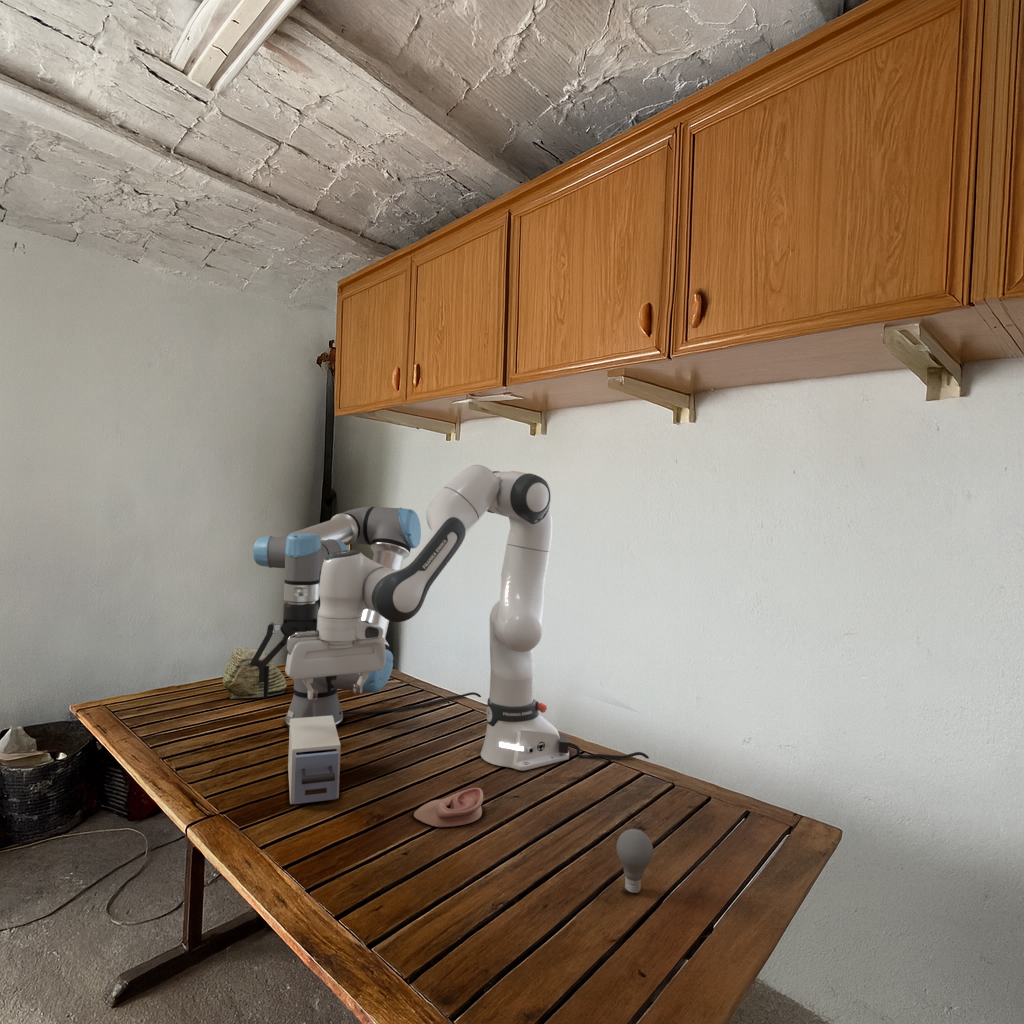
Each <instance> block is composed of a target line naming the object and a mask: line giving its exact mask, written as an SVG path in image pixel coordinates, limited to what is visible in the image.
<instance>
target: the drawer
mask: <svg viewBox="0 0 1024 1024" xmlns="http://www.w3.org/2000/svg"><path fill="white" fill-rule="evenodd" d="M337 779H338V751H334V749H330V750H319V751H309V752H298V753H296V755H295V780H294V804H293V805H299V804H307V803H316V802H323V801H332V800H337V799H338V798H337Z"/></svg>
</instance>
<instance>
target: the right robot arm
mask: <svg viewBox="0 0 1024 1024" xmlns="http://www.w3.org/2000/svg"><path fill="white" fill-rule="evenodd" d="M551 497H552V495H551V489H550V486H549V483H548V482H547V481H546V479H545V478H543V477H541V476H539V475H537V474H534V473H526V472H522V471H516V470H509V471H500V470H493V471H492V470H491V469H490V468H488V467H487V466H485V465H482V464H472V465H469V466H468V467H467V468H465V469H464V470H462V471H461V472H459V473H458V474H457V475H456V476H455V477H453V478H452V479H451V480H450V481H448V482H447V483H446V484H445V485H444V486H443V487H442V488H441V489H440V490H439V492H437V493H436V495H435V496H434V497H433V498H432V499H431V501H430V503H429V504H428V506H427V507H426V510H425V520H426V523H427V526H428V528H429V530H430V534H429V537H428V538H427V540H426V542H424V544H423V545H422V547H421V548H420V549H419V550H418V551H417V553H416V554H415V555H414V556H413V558H412V559H411V560H410V562H408V564H406V565H405V566H404V567H401V569H399V570H395V569H392V568H389V567H386V566H383V565H381V564H378V563H376V562H374V561H372V560H373V559H371V558H369V557H367V556H366V555H364V553H362V551H360V550H357V549H348V550H344V551H338V552H334V553H332V554H329V555H328V556H327V557H326V558H325V559H324V562H323V565H322V569H321V572H320V575H319V607H318V618H317V630H315V631H307V632H295V634H293V635H291V636H290V637H289V638H288V640H287V644H286V652H287V655H286V660H285V667H284V673H285V674H286V676H287V677H288V678H289V679H291V680H293V681H294V680H297V679H303V682H304V684H305V686H306V687H307V689H308V699H309V700H312V699H317V694H318V690H316V689H315V688H312V687H311V685H310V683H313V678H316V677H326V676H335V675H344V674H354V673H358V674H359V675H360V678H359V680H358V681H357V683H356V684H353V691H352V693H353V694H354V695H358V694H363V693H362V686H363V685H364V683H365V681H366V680H367V678H368V672H373V671H381V670H382V669H383V668H384V666H385V664H386V649H385V643H384V641H383V640H382V639H381V637H382V636H383V629H382V628H381V627H380V626H378V625H376V624H373V623H371V622H368V621H365V620H362V612H363V610H365V609H371V610H373V611H375V612H377V613H379V614H380V615H381V616H383V617H384V618H385V619H387V620H389V622H392V623H402V622H406V621H408V620H411V619H412V618H414V617H415V616H416V615H417V614H418V612H419V611H420V610H421V608H422V607H423V605H424V602H425V600H426V597H427V595H428V592H429V591H430V588H431V586H432V585H433V583H434V582H435V581H436V579H437V578H438V577H439V575H440V574H441V573H442V571H443V570H444V568H445V567H446V566H447V565H448V564H449V562H450V561H451V560H452V558H453V557H454V556H455V554H456V553H457V552H458V551H459V549H460V547H461V546H462V544H463V542H464V540H465V538H466V536H467V535H468V533H469V532H470V531H471V530H472V528H473V527H475V525H476V524H477V523H478V522H479V521H480V519H481V518H482V517H483V516H484V515H485V514H486V512H487V513H489V514H496V515H499V516H502V517H506V518H508V520H509V525H510V526H509V527H510V528H509V532H508V535H507V541H506V545H505V551H504V557H503V561H502V568H501V573H500V593H499V600H498V601H497V602H496V603H494V605H492V608H491V610H490V613H489V656H490V657H489V658H490V660H489V661H490V675H489V696H488V698H487V705H486V722H487V723H486V731H485V735H484V741H483V744H482V747H481V749H480V753H479V754H480V757H481V759H482V760H483V761H485V762H486V763H489V764H491V765H493V766H499V767H505V768H511V769H513V770H517V771H524V772H525V771H528V770H533V769H536V768H540V767H541V768H542V767H545V766H548V765H552V764H557V763H559V762H564V761H568V760H569V759H570V751H569V747H573V748H574V749H575V750H576V755H577V756H578V757H579V758H582V759H595V758H607V759H618V760H619V759H622V760H623V759H628V758H633V757H636V756H641V757H643V758H645V759H650V757H649V756H648V755H647V753H644V752H641V751H636V752H632V753H628V754H623V755H619V754H606V753H594V754H582V753H581V749H580V747H579V745H577V744H575V743H573V742H570V741H569V734H563V733H559V730H558V728H556V727H555V726H554V725H553V724H552V723H551V722H550V721H548V719H546V718H545V717H543V716H542V715H541V714H540V713H542V714H544V713H546V712H547V709H548V708H547V707H548V706H547V705H546V704H544V703H543V702H539V701H538V700H536V699H534V689H535V664H534V654H533V650H534V648H536V646H538V645H539V643H540V642H541V639H542V635H543V615H544V614H543V613H544V600H545V582H546V575H547V569H548V564H549V557H550V553H551V552H550V551H551V547H552V538H553V516H552V513H551V511H550V508H551V507H550V505H551ZM293 636H295V637H293ZM305 636H306V637H305Z"/></svg>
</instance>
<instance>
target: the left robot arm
mask: <svg viewBox="0 0 1024 1024" xmlns="http://www.w3.org/2000/svg"><path fill="white" fill-rule="evenodd" d="M421 527H422V526H421V521H420V518H419V515H418V514H417V512H416V511H415V510H413V509H412V508H404V507H384V506H383V507H381V506H363V507H362V506H361V507H357V508H353V509H350V510H349V509H348V510H347V511H343V512H339V513H337V514H335V515H333V516H332V517H331V518H330V520H326V521H323V522H320V523H318V524H315V525H311V526H308V527H305V528H302V529H299V530H296V531H292V532H290V533H287V534H283V535H280V536H272V535H269V536H261V537H259V538H258V539H257V540H256V541H255V542H254V544H253V548H252V558H253V560H254V562H255V564H256V565H258V566H260V567H265V568H266V567H268V568H270V569H272V568H275V569H284V583H283V600H284V601H285V602H284V603H283V610H282V623H281V624H279V623H274V622H272V621H271V622H269V623H268V625H267V630H266V634H265V636H264V638H263V639H262V641H261V643H260V645H259V646H258V650H257V652H256V654H255V655H254V657H253V659H252V661H251V663H250V664H251V665H252V666H256V667H258V668H259V682H264V696H263V697H262V698H263V699H268V697H269V696H268V689H269V666H266V665H267V664H268V663H269V662H270V661H271V660H273V659H274V658H275V657H276V655H278V653H279V652H280V651H281V650H282V649H283V648H284V647H285V646H287V640H288V638H289V637H290V636H291V635H293V634H295V632H307V631H315V630H317V618H318V610H319V606H320V603H318V601H319V600H320V597H319V584H320V576H321V569H322V565H323V562H324V559H325V558H326V557H327V556H328V555H329V554H332V553H334V552H338V551H344V550H349V549H348V546H349V545H368V546H370V549H371V551H372V552H373V556H372V559H371V560H372V561H374V562H376V563H378V564H381V565H383V566H386V567H389V568H392V569H395V570H399V569H401V568H402V566H403V562H404V560H405V559H406V558H408V557H410V554H411V550H412V549H413V550H414V549H417V548H418V547H419V545H420V543H421V539H422V528H421ZM362 620H365V621H368V622H371V623H373V624H376V625H378V626H380V627H381V628H382V629H383V636H382V637H381V639H382V640H383V641H384V643H385V649H386V664H385V666H384V668H383V669H382V670H381V671H373V672H368V678H367V680H366V681H365V683H364V685H363V686H362V693H361V694H363V693H371V694H374V693H378V692H380V691H381V690H382V689H383V688H384V687H385V686H386V685H387V684H388V682H389V680H390V677H391V675H392V671H393V668H394V662H393V661H394V655H393V652H392V651H390V650H389V649H390V644H389V643H388V641H387V639H386V636H387V633H388V628H389V623H390V621H389V620H387V619H385V618H384V617H383V616H381V615H380V614H379V613H377V612H375V611H373V610H371V609H365V610H363V612H362ZM279 631H281V632H280V633H282V634H283V637H282V638H281V639H280V640H279V641H278V642H277V644H275V646H274V647H273V648H272V649H271V650H270V651H269V653H267V656H266V657H265V658H264V659H263V660H259V658H260V656H261V655H262V653H263V651H264V652H265V650H266V647H267V645H268V644H269V642H270V640H271V639H272V637H273V635H275V634H277V633H278V632H279ZM293 637H295V636H293ZM305 637H306V636H305ZM359 678H360V675H359V674H358V673H354V674H344V675H335V676H326V677H316V678H313V683H310V685H311V687H312V688H315V689H316V690H318V694H317V699H312V700H309V699H308V689H307V687H306V686H305V684H304V682H303V679H297V680H293V695H292V696H293V697H292V699H291V702H290V704H289V708H288V711H287V713H286V715H285V726H286V728H287V729H289V730H290V719H293V718H306V717H318V716H331V715H333V718H334V722H335V726H336V728H337V727H339V726H340V725H342V723H343V722H344V715H345V716H347V715H368V714H382V713H389V712H397V711H404V710H410V709H417V708H421V707H425V706H430V705H433V704H436V703H441V702H444V701H449V700H453V699H458V698H464V697H468V696H472V695H473V696H476V697H478V698H482V695H481V694H479V693H478V692H474V691H473V692H467V693H464V694H463V693H462V694H457V695H451V696H447V697H443V698H439V699H434V700H432V701H428V702H424V703H419V704H414V705H409V706H402V707H394V708H386V709H377V710H359V711H358V710H353V711H352V710H351V711H343V709H342V706H341V702H340V699H339V695H338V690H344V691H345V690H346V691H352V692H353V684H356V683H357V681H358V680H359Z"/></svg>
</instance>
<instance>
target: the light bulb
mask: <svg viewBox="0 0 1024 1024" xmlns="http://www.w3.org/2000/svg"><path fill="white" fill-rule="evenodd" d="M615 849H616V854H617V857H618V859H619V861H620V863H621V865H622V867H623V873H624V874H623V875H624V876H625V878H624V888H625V890H627V891H628V892H630V893H634V894H635V893H639V892H640V891H641V889H642V887H641V886H642V879H643V877H644V875H645V871H646V868H647V867H648V866H649V864H650V863H651V861H652V859H653V855H654V847H653V843H652V841H651V838H649V836H648V835H647V834H646V833H645V832H643V831H642V830H641V829H636V828H629V829H627V830H625V831H623V832H622V833H621V834H620V835H619V837H618V839H617V841H616V847H615Z"/></svg>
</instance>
